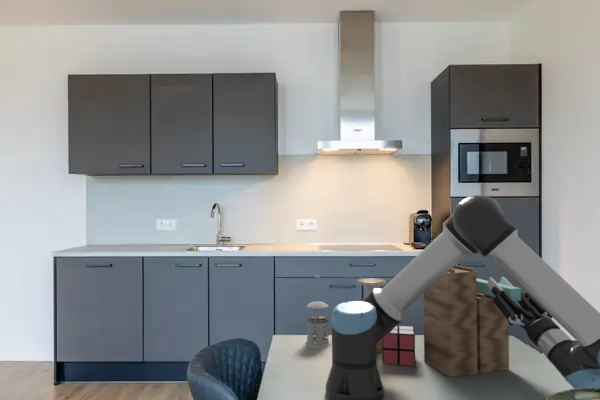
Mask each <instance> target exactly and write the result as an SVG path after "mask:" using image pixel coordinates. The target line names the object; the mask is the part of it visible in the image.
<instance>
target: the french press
mask: <svg viewBox="0 0 600 400" xmlns="http://www.w3.org/2000/svg"><path fill="white" fill-rule="evenodd" d="M314 278H315V279H317V280H316V281H317V282H316V283H317V288H316V289H317V292H316V293H317V294H316V295H317V298H316V299H317V300H316V301H312V302H310V303H309V302H308V304H307V305H306V308H307V309H310V310H325V309H328V308H329V304H327V303H325V302H324V301H319V279H321V275H320V274H315V276H314ZM307 318H308V319H307V320H306V325H307V326H306V331H307V333H306V341H305V342H304V345H305V346H306V347H309V348H314V349H315V348H316V349H318V348H319V349H323V348H327V347H330V346H332V341H330V340H329V329H330V328H329V320H328V316H327V315H324V314H319V312H316V313H315V314H314V313H313V311H312V312H311V314H310V315H309V316H308V317H307Z"/></svg>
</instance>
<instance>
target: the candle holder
mask: <svg viewBox="0 0 600 400" xmlns="http://www.w3.org/2000/svg"><path fill="white" fill-rule="evenodd" d="M356 283H357V284H359V285H363V287H364V289H365V290H366V295H365V296H364V298H365V297H366V296H367V295H368V294H369V293H370V292H371V291H373V290H374V289H375V288H380V286H383V285H387V280H386V279H384V278H377V277H376V278H374V277H373V278H371V277H364V278H358V279H357V280H356ZM376 351H377V355H378V354H382V339H381V340H380V341H379V342H378V343H377V344H376Z"/></svg>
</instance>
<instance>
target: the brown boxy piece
mask: <svg viewBox="0 0 600 400" xmlns="http://www.w3.org/2000/svg"><path fill="white" fill-rule="evenodd" d="M476 278H477V271H475V268H473V267H468V266H463V265H459V264H456V265H455V266H454V267H453V268H452V269H450V270H449V271H448V272H447V273H446V274H445V275H444V276H443V277H442V278H440V279H439V280H438V281H437V282H436V283H435V284H434V285H433V286H432V287H431V288H429V289H428V290H427V291H426V292H425V293H424V294H423V351H424V353H423V358H424V359H423V360H424V362H425V363H426V364H428V365H430V366H431V367H433V368H435V370H436V369H437V370H438V371H439V372H441V373H442V374H445V375H446V376H448V377H456V376H457V377H458V376H465V375H474V374H478V373H480V374H484V373H492V372H502V371H509V370H510V350H509V349H510V346H509V345H510V342H509V341H510V336H509V335H510V334H509V329H510V328H509V326H510V325H509V323H508V320H507V318H506V317H505V316H504V315H503V313H502V312H501V311H500V310H499V308H498V307H497V306H496V305H495V303H494V302H493V301H494V299H495V297H492V296H489V295H485V294H481V293H478V292H477V284H476Z"/></svg>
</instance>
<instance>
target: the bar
mask: <svg viewBox="0 0 600 400" xmlns="http://www.w3.org/2000/svg"><path fill="white" fill-rule="evenodd" d="M487 283H488V280H486V279H481V278H478V277H476V284H477V292H478V293H481V294H485V295H489V296H492V297H495V295H494V294H493V293H492V291H491V289H490V288H489V287H488V285H487ZM497 283H498V282H497ZM498 284H499V286H500V287H501V288H502V289H503V290H504V291H505V293H504V294H505V295H506V296H508V297H509V298H510V299H511V300H512V301H513V302H518V301H521V292H522V287H517V286H515V287H513V286H514V285H513V286H509V285H504V284H500V282H499V283H498Z"/></svg>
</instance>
